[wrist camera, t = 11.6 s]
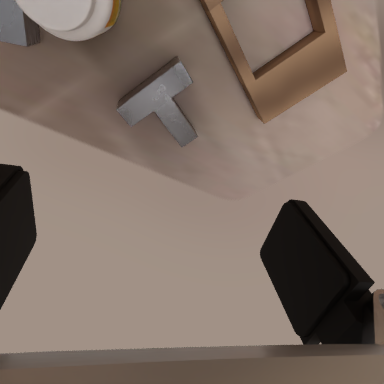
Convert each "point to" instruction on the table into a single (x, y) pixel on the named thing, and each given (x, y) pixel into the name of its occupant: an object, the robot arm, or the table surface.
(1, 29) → the vee block
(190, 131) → the gray tee-shaped block
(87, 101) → the table surface
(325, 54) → the block with square hole
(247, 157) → the table surface
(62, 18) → the supplement bottle
